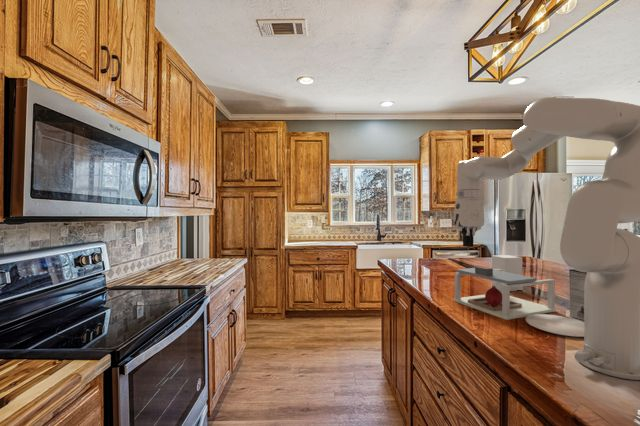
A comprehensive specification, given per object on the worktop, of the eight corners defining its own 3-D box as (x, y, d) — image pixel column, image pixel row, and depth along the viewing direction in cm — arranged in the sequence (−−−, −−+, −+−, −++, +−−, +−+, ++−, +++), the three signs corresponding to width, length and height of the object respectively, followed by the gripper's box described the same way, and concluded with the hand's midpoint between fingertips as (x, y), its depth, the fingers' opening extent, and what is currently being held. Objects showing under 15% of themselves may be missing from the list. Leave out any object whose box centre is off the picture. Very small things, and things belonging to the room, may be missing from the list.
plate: (571, 342, 84) (571, 338, 84) (513, 321, 100) (513, 318, 100) (610, 333, 90) (610, 329, 90) (549, 315, 106) (549, 311, 106)
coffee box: (588, 313, 107) (588, 267, 107) (610, 320, 101) (610, 270, 101) (568, 316, 105) (568, 268, 104) (589, 322, 98) (589, 272, 98)
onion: (505, 310, 111) (505, 287, 111) (488, 309, 113) (488, 287, 113) (499, 305, 117) (499, 284, 117) (483, 304, 118) (483, 283, 118)
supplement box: (523, 290, 138) (523, 257, 138) (505, 291, 137) (505, 257, 137) (508, 286, 147) (508, 254, 147) (491, 286, 146) (491, 255, 146)
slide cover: (509, 284, 102) (508, 273, 102) (457, 271, 123) (457, 263, 123) (536, 281, 107) (536, 270, 107) (481, 269, 128) (481, 261, 128)
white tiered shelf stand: (506, 319, 101) (506, 285, 101) (453, 301, 123) (453, 272, 123) (556, 311, 110) (555, 279, 110) (498, 295, 131) (498, 268, 131)
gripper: (460, 194, 105) (459, 248, 105) (493, 195, 110) (492, 246, 110) (444, 195, 112) (443, 246, 112) (475, 195, 117) (475, 244, 117)
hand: (468, 246), depth 111 cm, fingers closed
